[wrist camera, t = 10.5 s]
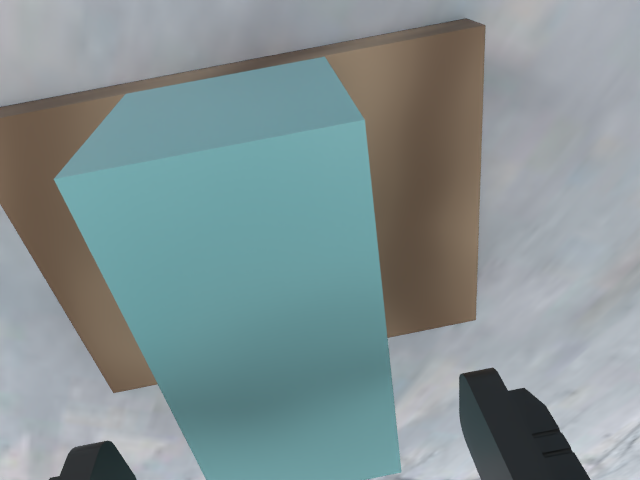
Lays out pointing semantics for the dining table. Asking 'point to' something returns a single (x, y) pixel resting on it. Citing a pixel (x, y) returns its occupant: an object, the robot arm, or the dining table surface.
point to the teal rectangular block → (248, 267)
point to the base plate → (385, 169)
